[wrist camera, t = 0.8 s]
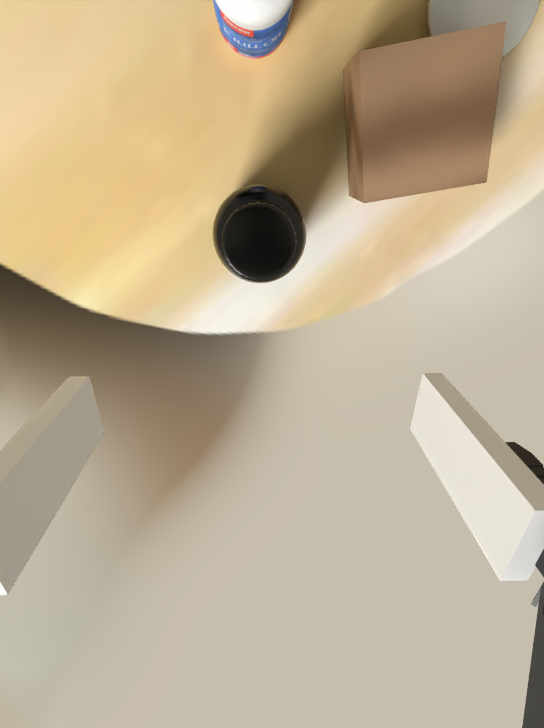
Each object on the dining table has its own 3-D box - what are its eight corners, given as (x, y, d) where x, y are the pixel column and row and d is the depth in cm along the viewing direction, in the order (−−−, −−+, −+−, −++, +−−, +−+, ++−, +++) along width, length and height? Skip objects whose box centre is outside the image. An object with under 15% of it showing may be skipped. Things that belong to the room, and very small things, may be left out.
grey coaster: (439, -76, 25) (445, -84, 24) (551, -72, 25) (560, -80, 25) (418, 69, 29) (422, 66, 28) (516, 71, 29) (523, 68, 28)
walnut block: (343, 70, 28) (359, 50, 23) (462, 46, 27) (506, 21, 22) (349, 195, 33) (363, 203, 27) (451, 177, 32) (486, 182, 27)
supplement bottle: (305, 195, 32) (328, 200, 22) (287, 270, 35) (299, 307, 25) (229, 175, 32) (214, 171, 21) (217, 254, 35) (198, 285, 24)
